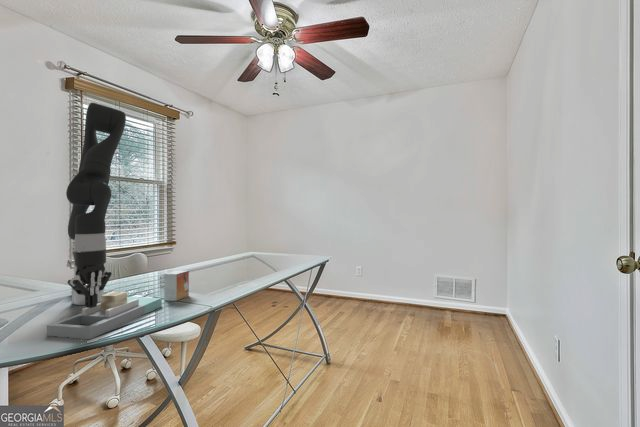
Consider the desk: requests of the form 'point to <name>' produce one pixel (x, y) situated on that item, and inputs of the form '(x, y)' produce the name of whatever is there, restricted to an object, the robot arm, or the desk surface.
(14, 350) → the desk surface
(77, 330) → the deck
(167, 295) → the small box
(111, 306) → the block
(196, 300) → the desk surface
